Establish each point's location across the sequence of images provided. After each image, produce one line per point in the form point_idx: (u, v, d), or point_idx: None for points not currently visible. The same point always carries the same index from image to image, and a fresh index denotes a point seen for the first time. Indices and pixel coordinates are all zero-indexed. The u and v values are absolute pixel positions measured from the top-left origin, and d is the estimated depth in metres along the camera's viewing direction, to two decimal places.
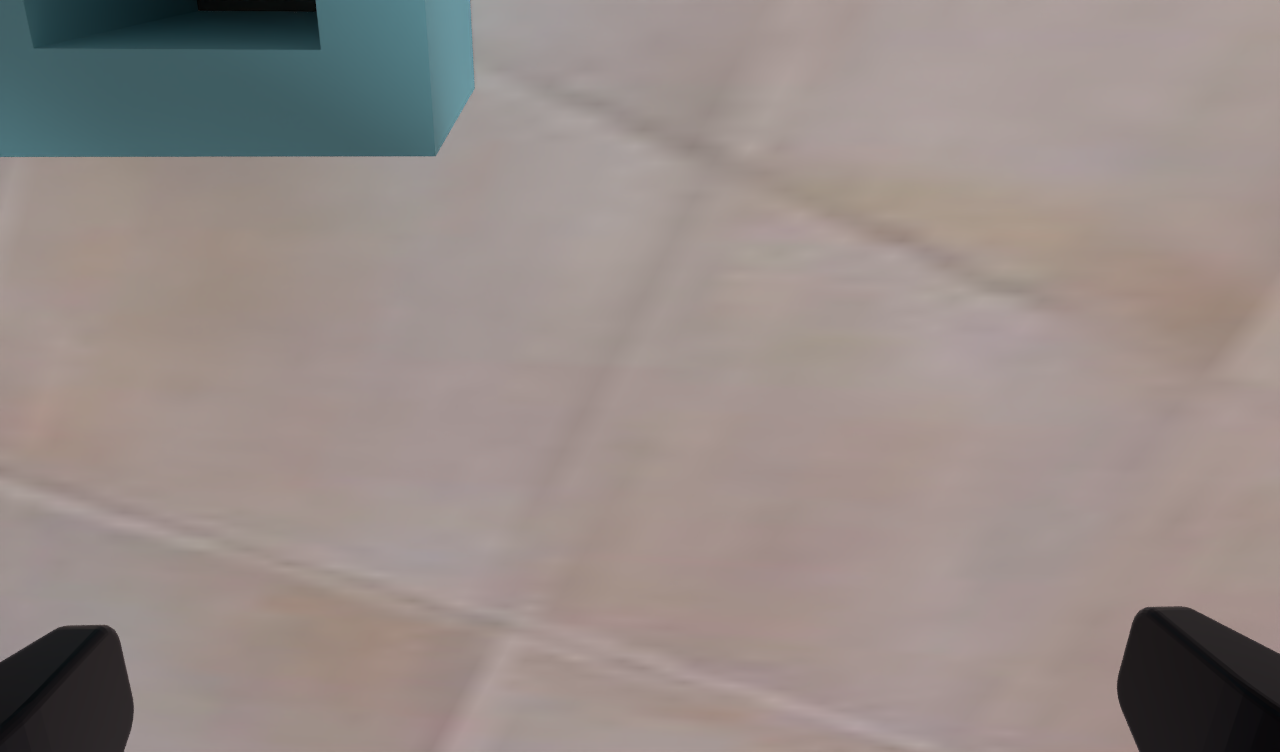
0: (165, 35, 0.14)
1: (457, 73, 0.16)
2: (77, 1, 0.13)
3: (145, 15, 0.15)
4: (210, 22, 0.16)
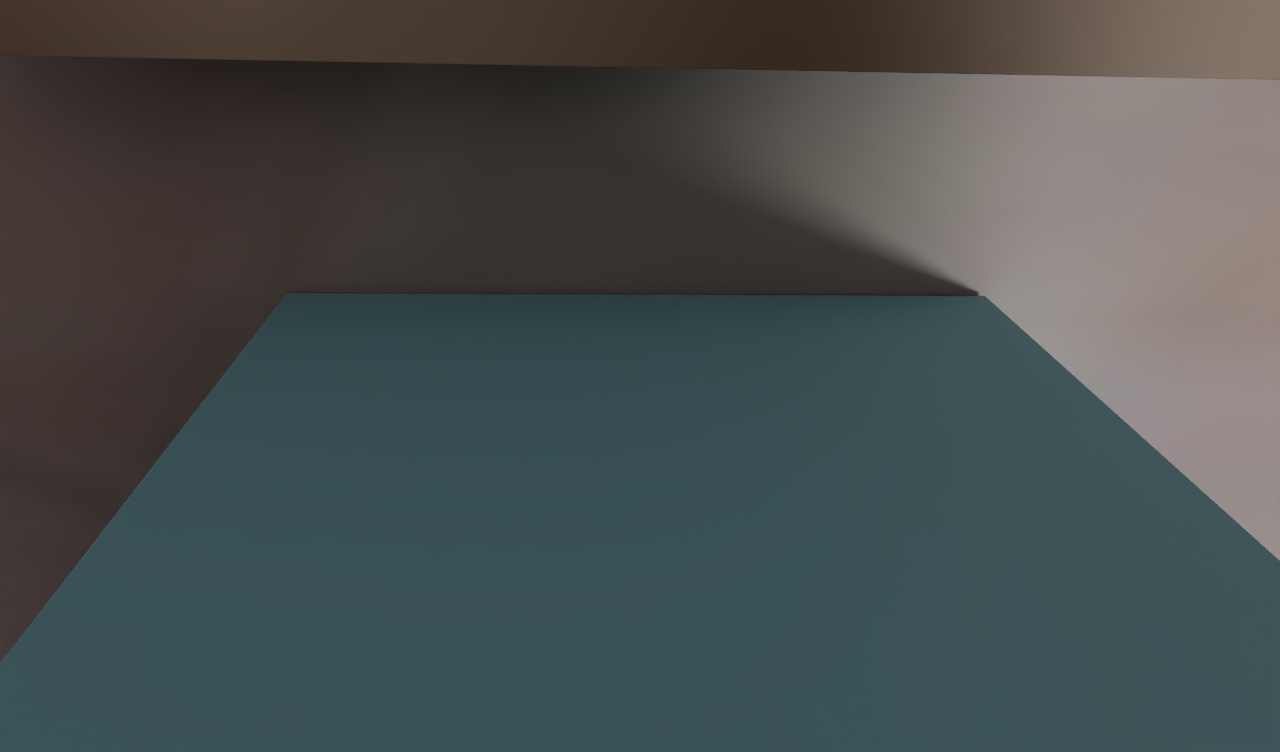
0: None
1: None
2: None
3: None
4: None
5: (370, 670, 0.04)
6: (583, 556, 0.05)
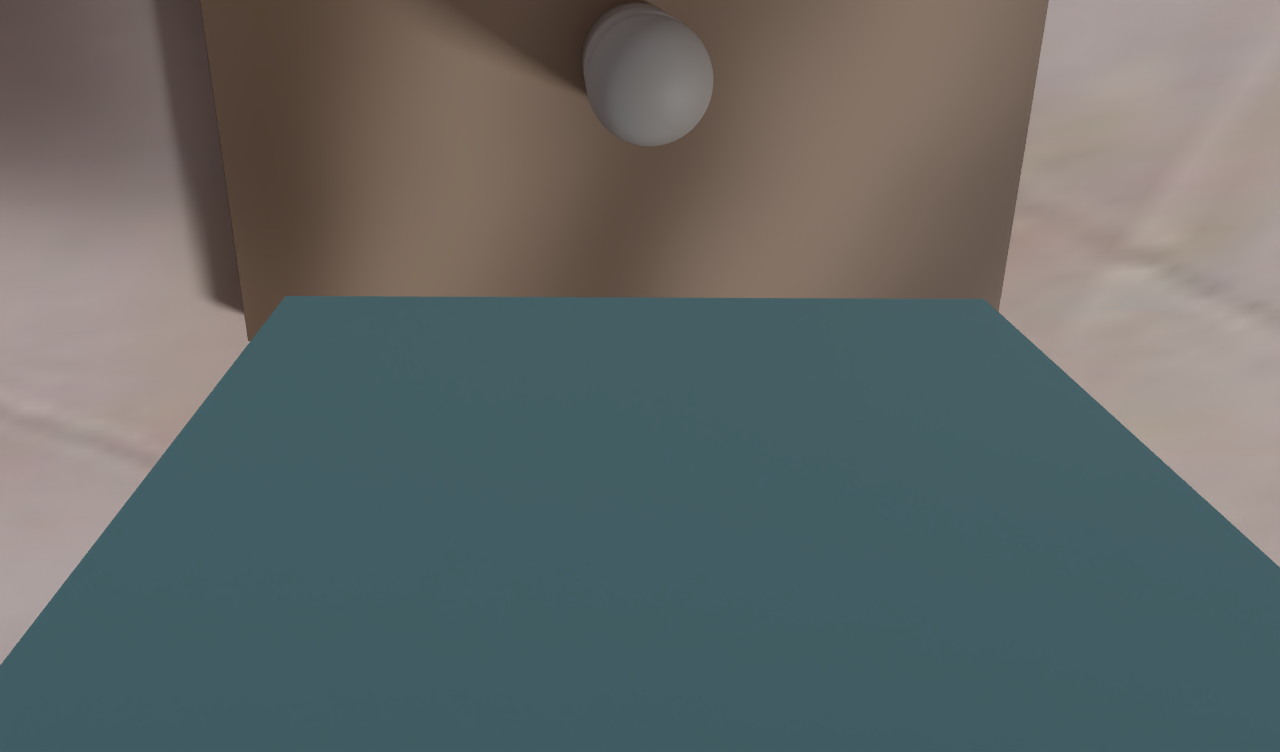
0: None
1: None
2: None
3: None
4: None
5: (368, 676, 0.04)
6: (581, 562, 0.05)
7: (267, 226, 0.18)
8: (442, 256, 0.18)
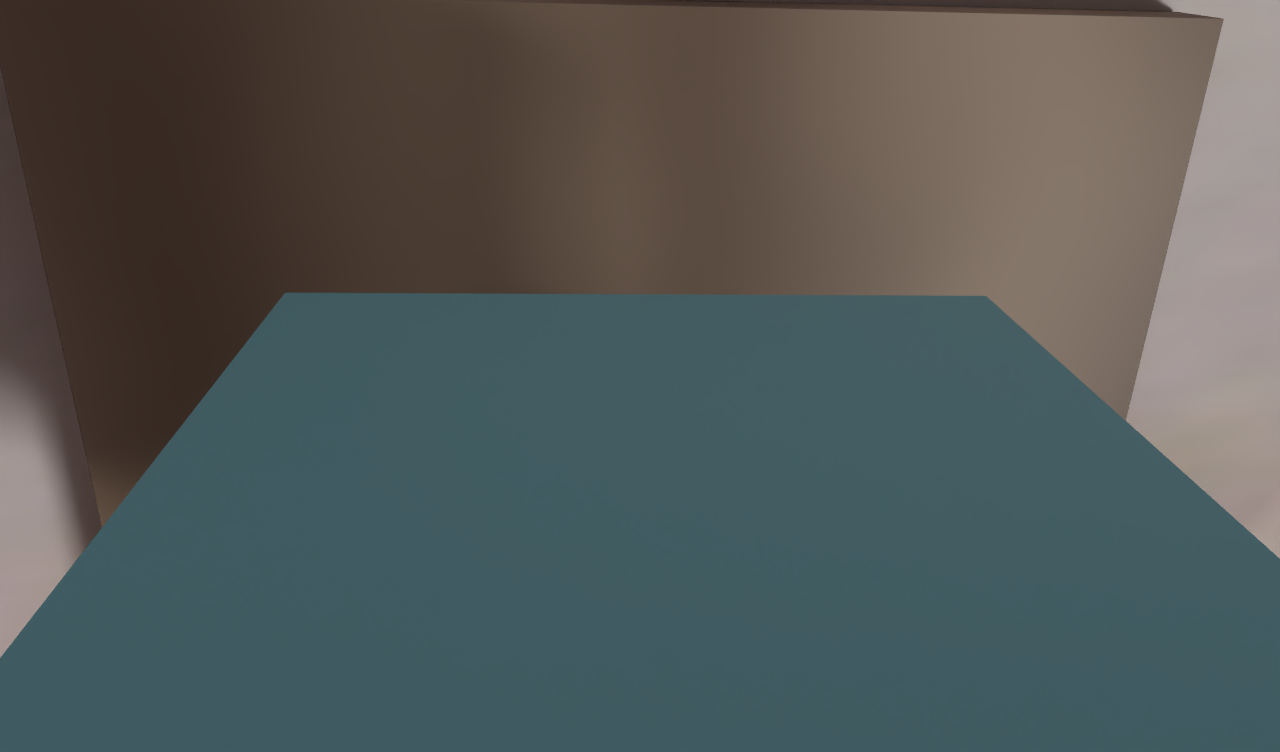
0: None
1: None
2: None
3: None
4: None
5: (367, 672, 0.04)
6: (583, 557, 0.05)
7: None
8: None
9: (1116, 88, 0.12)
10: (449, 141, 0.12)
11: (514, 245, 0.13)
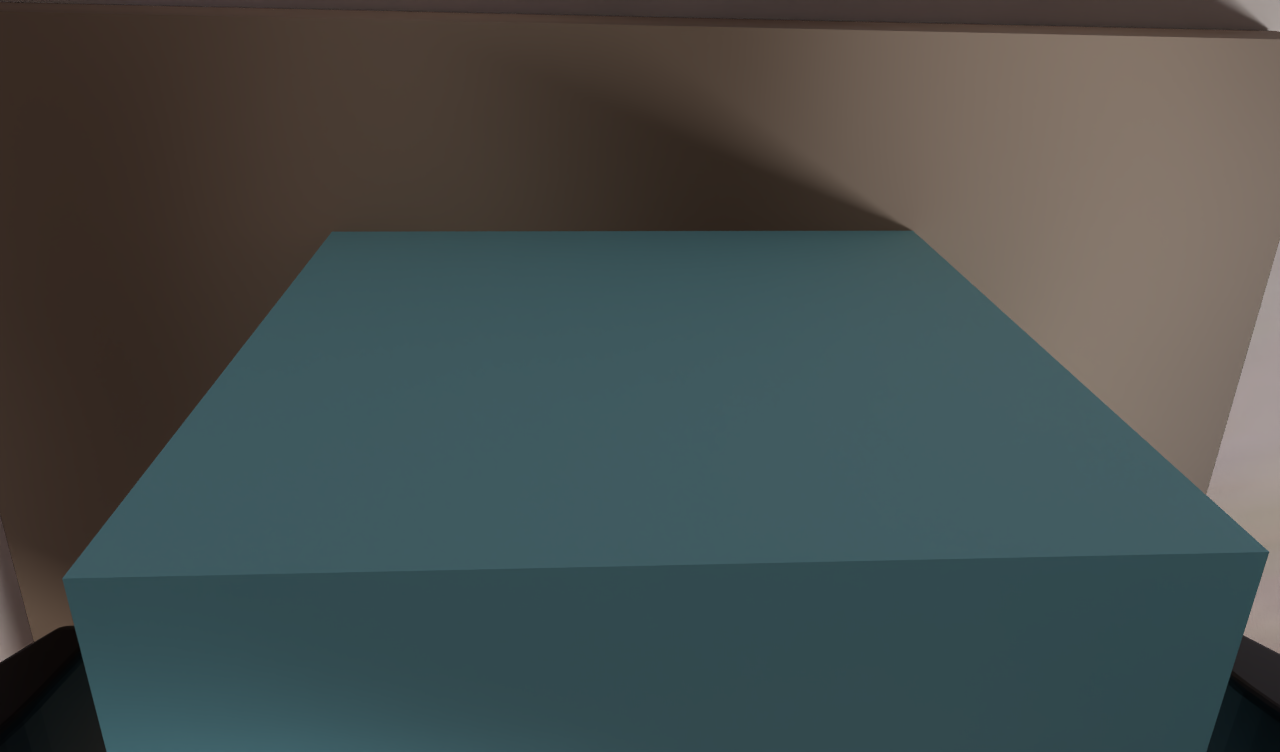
0: None
1: None
2: None
3: None
4: None
5: (423, 453, 0.06)
6: (573, 392, 0.07)
7: None
8: None
9: (1209, 121, 0.10)
10: (425, 185, 0.10)
11: None
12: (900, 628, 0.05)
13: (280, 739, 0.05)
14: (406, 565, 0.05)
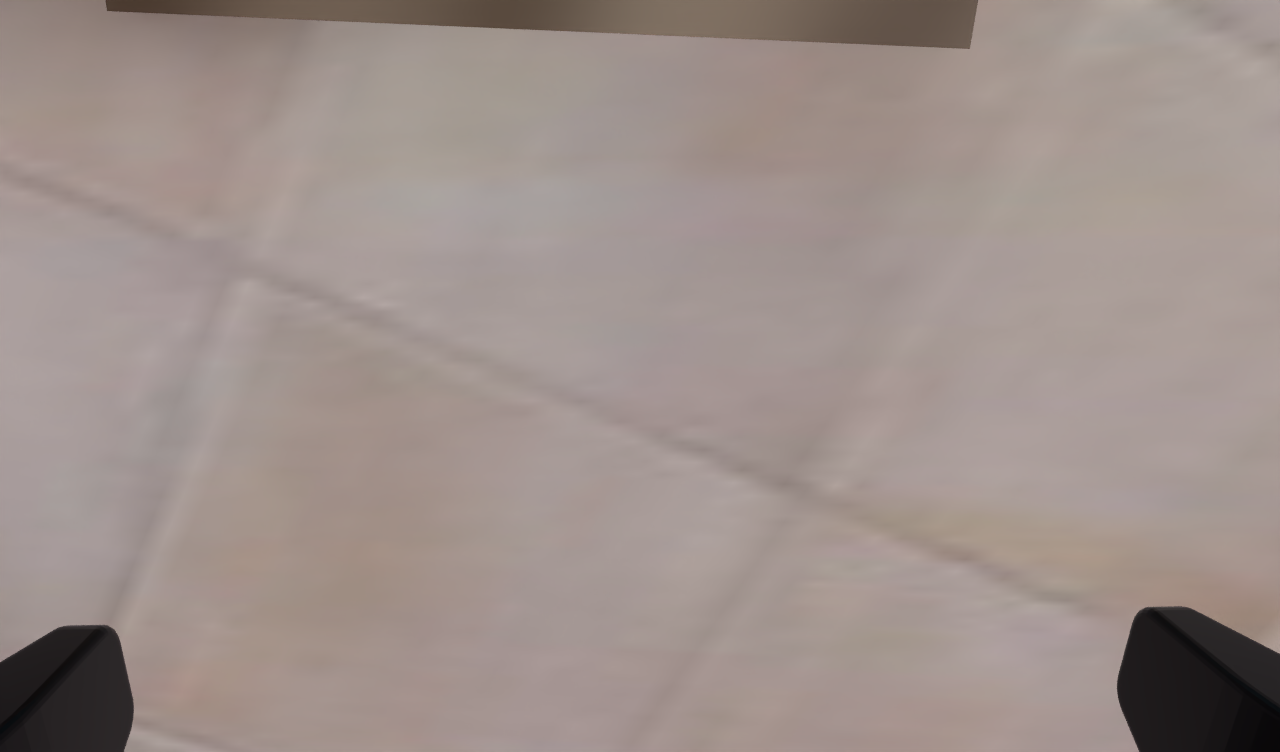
0: None
1: None
2: None
3: None
4: None
5: None
6: None
7: None
8: None
9: None
10: None
11: None
12: None
13: None
14: None
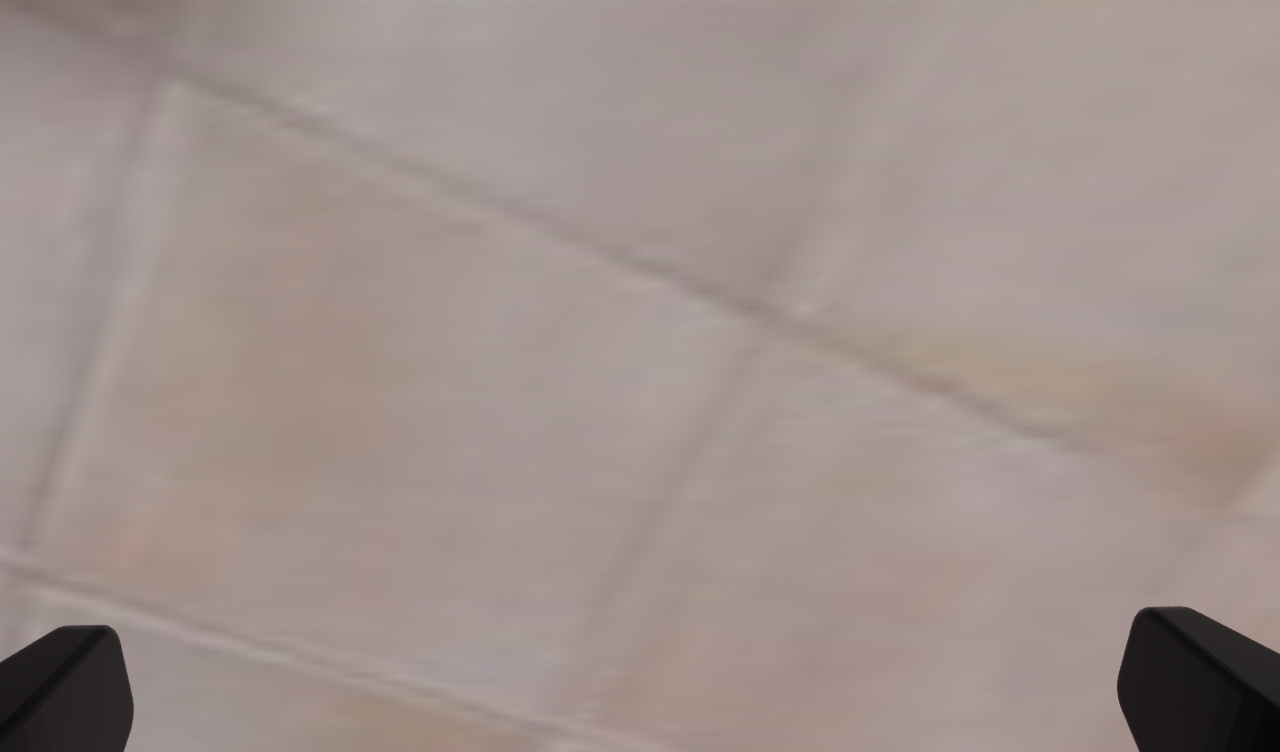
0: None
1: None
2: None
3: None
4: None
5: None
6: None
7: None
8: None
9: None
10: None
11: None
12: None
13: None
14: None
